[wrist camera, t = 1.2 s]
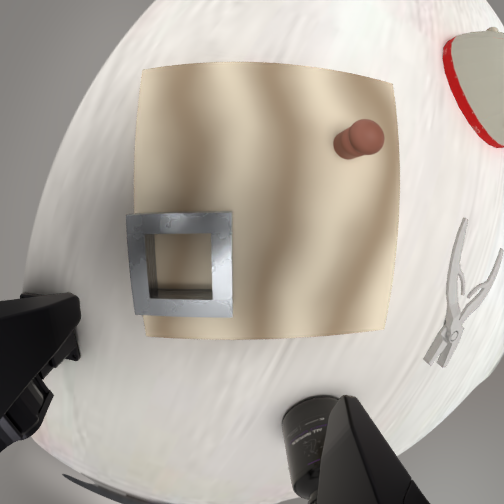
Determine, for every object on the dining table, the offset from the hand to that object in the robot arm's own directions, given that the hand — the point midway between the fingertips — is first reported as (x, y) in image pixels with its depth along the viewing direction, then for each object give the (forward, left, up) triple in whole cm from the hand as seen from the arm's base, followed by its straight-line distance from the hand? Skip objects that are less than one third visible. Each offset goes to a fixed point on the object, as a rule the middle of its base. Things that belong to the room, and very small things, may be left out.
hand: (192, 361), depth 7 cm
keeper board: (+4, +5, -13) cm, 14 cm away
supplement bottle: (+9, -16, -13) cm, 23 cm away
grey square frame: (-2, +1, -11) cm, 11 cm away
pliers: (+25, -5, -13) cm, 28 cm away
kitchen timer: (+29, +20, -13) cm, 37 cm away
